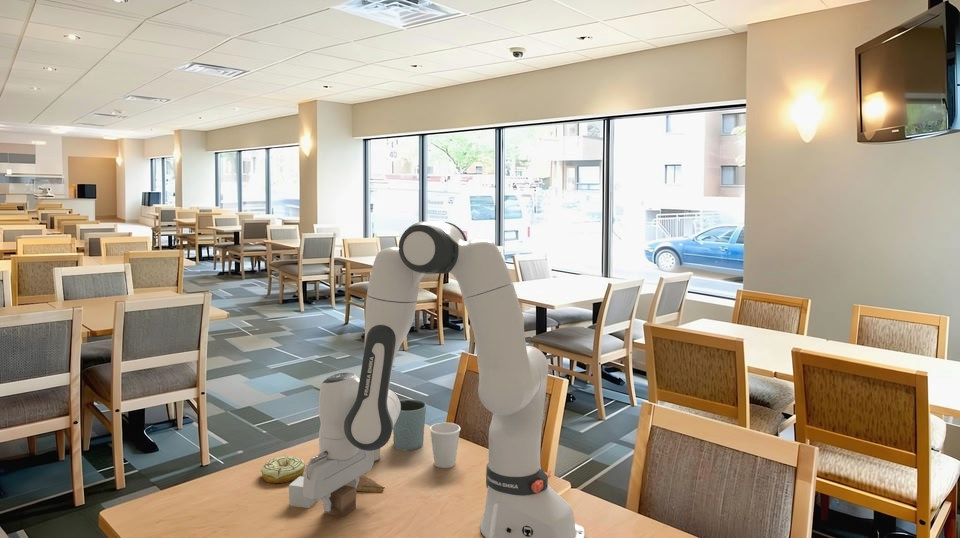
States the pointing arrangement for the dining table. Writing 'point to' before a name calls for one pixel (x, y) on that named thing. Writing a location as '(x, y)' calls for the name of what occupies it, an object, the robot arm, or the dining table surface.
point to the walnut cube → (343, 501)
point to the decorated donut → (283, 469)
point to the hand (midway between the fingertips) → (340, 502)
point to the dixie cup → (445, 443)
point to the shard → (367, 485)
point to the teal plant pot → (410, 425)
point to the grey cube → (298, 494)
